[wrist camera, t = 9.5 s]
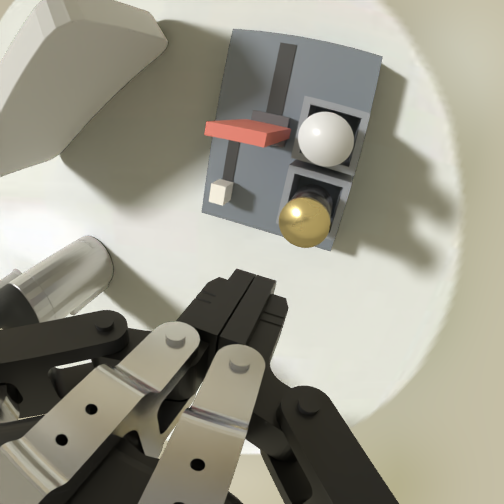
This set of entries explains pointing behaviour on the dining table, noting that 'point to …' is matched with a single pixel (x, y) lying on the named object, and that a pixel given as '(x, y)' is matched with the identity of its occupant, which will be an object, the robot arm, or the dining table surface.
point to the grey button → (326, 139)
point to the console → (298, 109)
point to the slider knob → (220, 192)
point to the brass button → (306, 216)
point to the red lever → (253, 129)
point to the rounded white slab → (68, 73)
